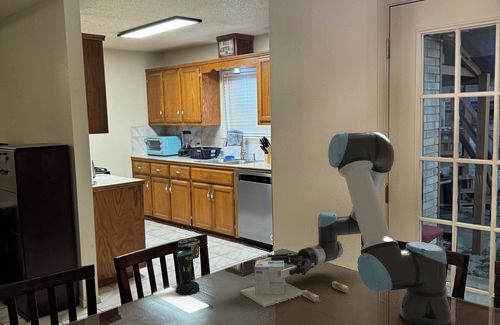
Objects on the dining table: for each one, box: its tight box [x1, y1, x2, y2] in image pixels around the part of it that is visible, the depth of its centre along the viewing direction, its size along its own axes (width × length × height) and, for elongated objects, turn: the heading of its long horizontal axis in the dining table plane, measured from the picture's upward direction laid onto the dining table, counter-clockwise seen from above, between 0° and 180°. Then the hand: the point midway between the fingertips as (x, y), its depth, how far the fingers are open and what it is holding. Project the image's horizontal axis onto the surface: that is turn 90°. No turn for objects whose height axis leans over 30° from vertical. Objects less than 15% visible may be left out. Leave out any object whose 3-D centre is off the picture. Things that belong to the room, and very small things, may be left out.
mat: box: [239, 281, 304, 308], centre depth 163 cm, size 16×18×1 cm
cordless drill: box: [175, 237, 201, 296], centre depth 167 cm, size 9×12×20 cm
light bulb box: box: [254, 260, 286, 295], centre depth 162 cm, size 11×7×11 cm, turn 85°
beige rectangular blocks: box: [302, 280, 350, 303], centre depth 161 cm, size 7×16×2 cm, turn 122°
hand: (269, 269), depth 162 cm, fingers open, 13 cm apart
